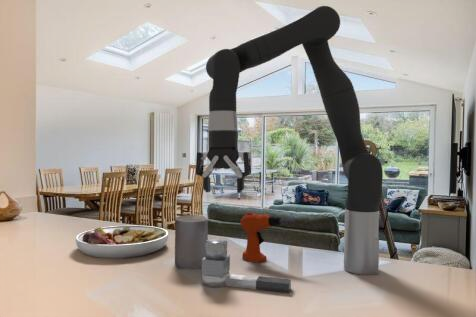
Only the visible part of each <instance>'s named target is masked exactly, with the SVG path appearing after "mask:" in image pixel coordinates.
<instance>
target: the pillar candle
mask: <svg viewBox="0 0 476 317" xmlns="http://www.w3.org/2000/svg"><path fill="white" fill-rule="evenodd" d="M174 225H175V226H174V229H175V230H174V265H175V266H176V267H177V268H180V269H186V268H188V269H193V268H194V269H200V268H202V259H203V258H204V257H205V241H207V240H209V235H208V234H209V233H208V232H209V230H208V227H209V217H207V216H205V215H201V214H200V215H199V214H193V213H191V214H187V215H186V214H185V215H180V216H176V217H175V221H174Z"/></svg>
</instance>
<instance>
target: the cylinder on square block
mask: <svg viewBox="0 0 476 317" xmlns="http://www.w3.org/2000/svg"><path fill="white" fill-rule="evenodd" d="M230 257H231V254H230V255H229V254H228V241H227V240H226V239H220V238H213V239H212V238H211V239H208V240H207V241H205V257H204V258H203V259H202V267H201V276H202V275H205V276H215V277H224V276H225V275H226V274H227V273H228V272H229V273H230V270H231V269H230V268H231V267H230V266H231V265H230V264H231V262H230V261H231V258H230Z"/></svg>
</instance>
